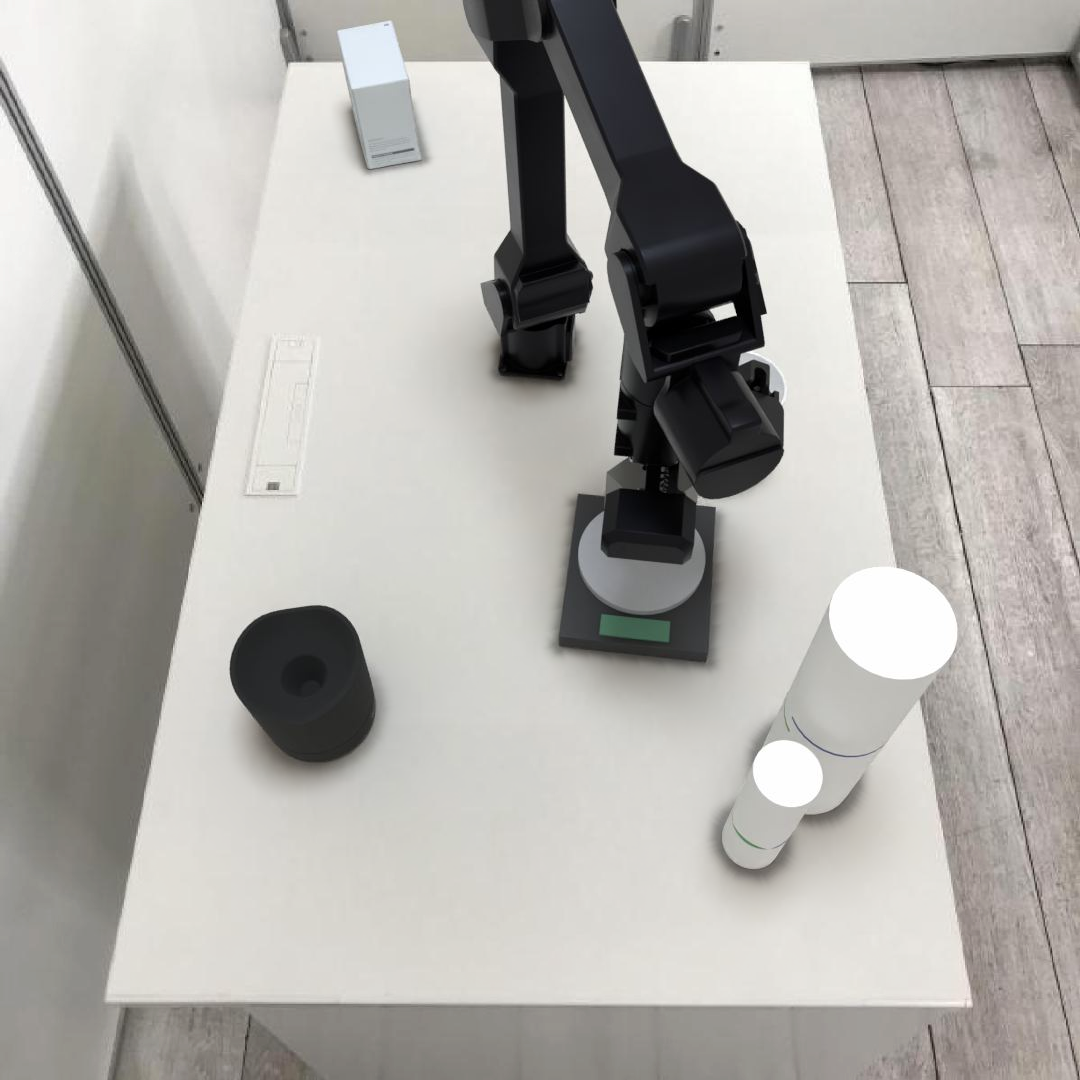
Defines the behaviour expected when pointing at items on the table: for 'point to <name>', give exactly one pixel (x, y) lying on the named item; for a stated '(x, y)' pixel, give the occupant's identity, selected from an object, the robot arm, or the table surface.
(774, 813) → the tube
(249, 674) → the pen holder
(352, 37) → the cosmetics box
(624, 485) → the dice cube
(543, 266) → the robot arm
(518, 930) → the table surface
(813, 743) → the cylindrical container
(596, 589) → the scale
